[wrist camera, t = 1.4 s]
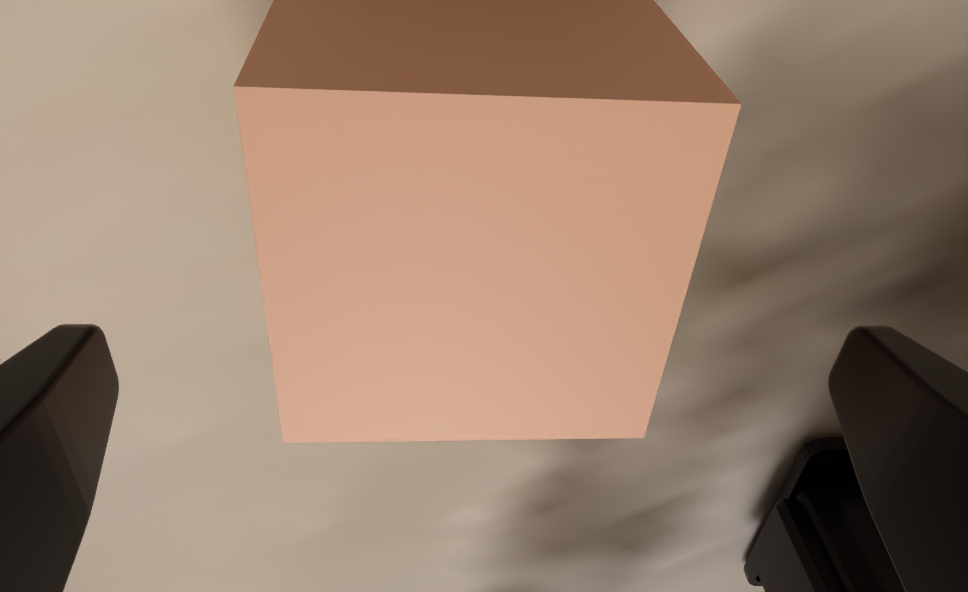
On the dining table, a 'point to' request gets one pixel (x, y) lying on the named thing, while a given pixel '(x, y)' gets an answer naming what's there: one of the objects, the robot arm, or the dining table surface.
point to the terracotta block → (475, 212)
